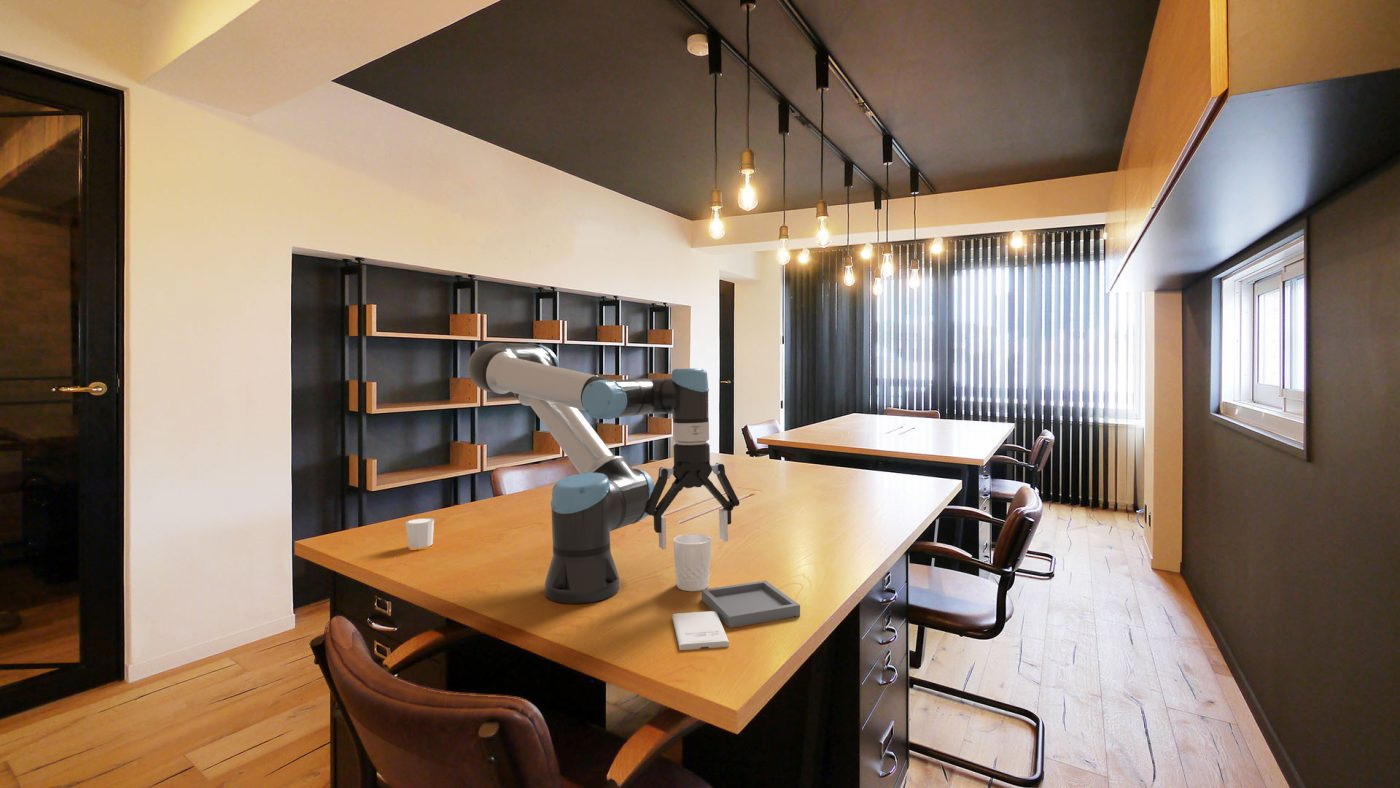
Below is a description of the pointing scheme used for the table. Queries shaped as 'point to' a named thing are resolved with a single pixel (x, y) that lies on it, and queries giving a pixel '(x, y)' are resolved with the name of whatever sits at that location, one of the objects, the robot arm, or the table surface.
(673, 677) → the table surface
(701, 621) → the external hard drive
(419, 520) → the white short cylinder
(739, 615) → the tray
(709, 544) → the white cup
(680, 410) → the robot arm
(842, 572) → the table surface
